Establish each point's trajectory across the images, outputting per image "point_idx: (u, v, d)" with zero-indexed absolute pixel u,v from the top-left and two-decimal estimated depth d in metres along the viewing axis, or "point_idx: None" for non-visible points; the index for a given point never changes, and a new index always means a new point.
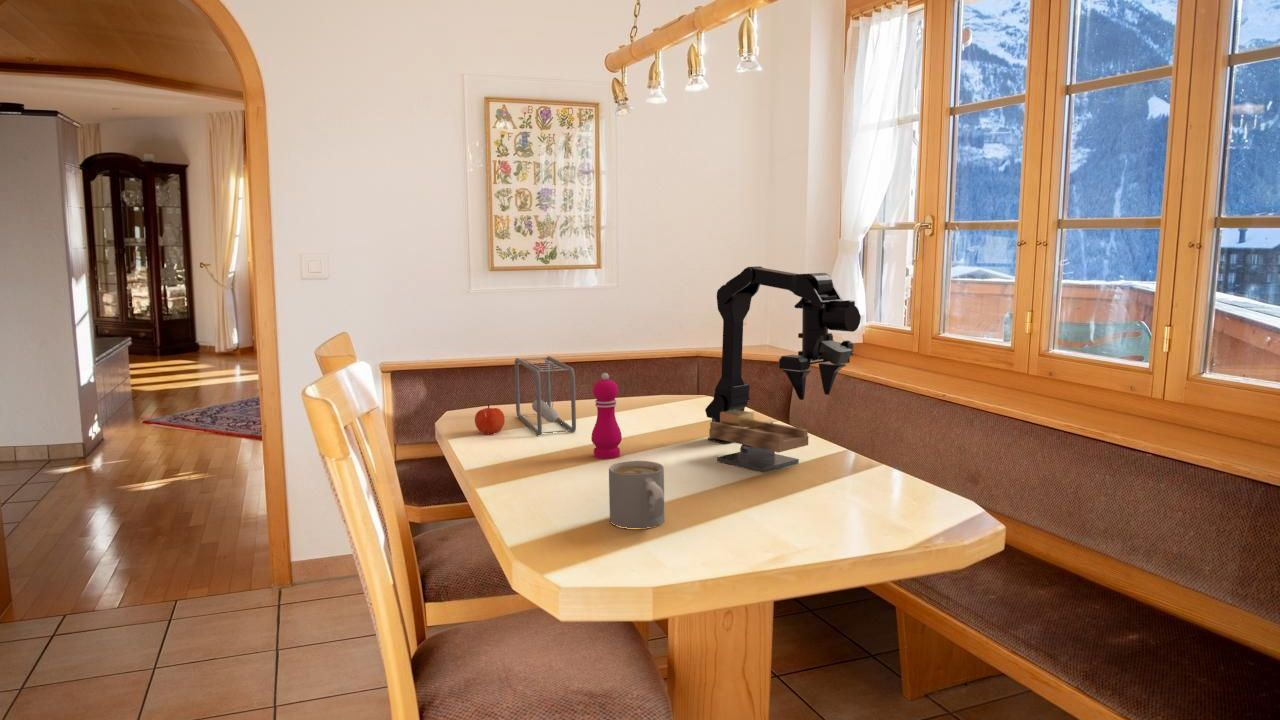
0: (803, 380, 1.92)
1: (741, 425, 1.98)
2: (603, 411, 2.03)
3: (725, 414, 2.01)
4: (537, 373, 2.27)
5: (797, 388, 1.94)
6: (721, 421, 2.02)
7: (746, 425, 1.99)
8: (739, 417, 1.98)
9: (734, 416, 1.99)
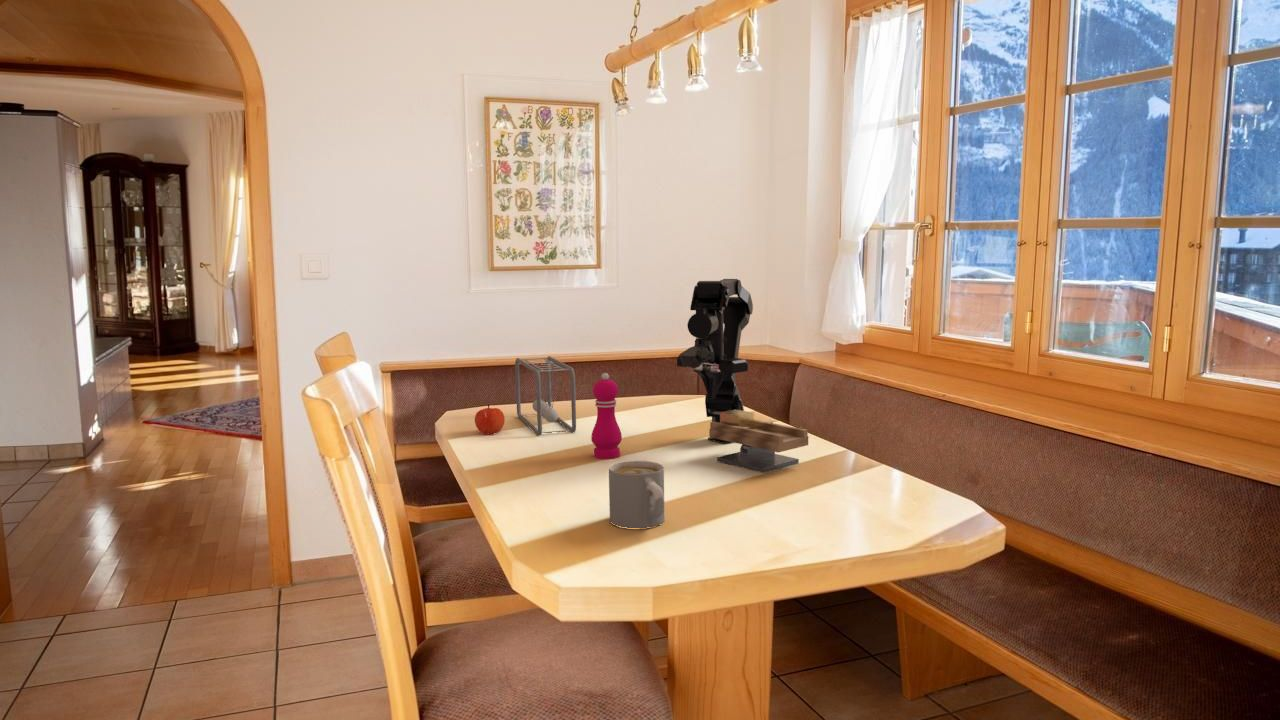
0: (703, 379, 2.07)
1: (741, 425, 1.98)
2: (603, 411, 2.03)
3: (725, 414, 2.01)
4: (537, 373, 2.27)
5: None
6: (721, 421, 2.02)
7: (746, 425, 1.99)
8: (739, 417, 1.98)
9: (734, 416, 1.99)
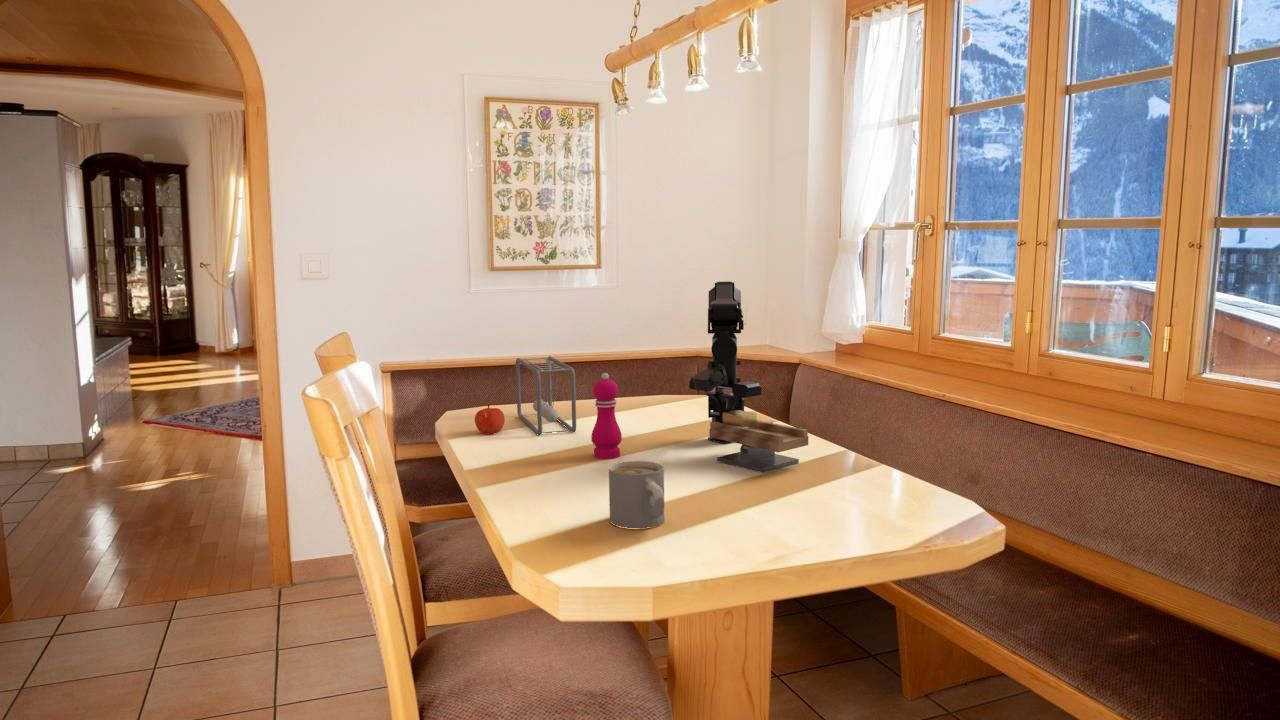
0: (716, 402, 2.04)
1: (744, 426, 1.98)
2: (603, 411, 2.03)
3: (728, 415, 2.00)
4: (537, 373, 2.27)
5: None
6: (724, 422, 2.01)
7: (749, 425, 1.99)
8: (742, 418, 1.97)
9: (737, 417, 1.98)
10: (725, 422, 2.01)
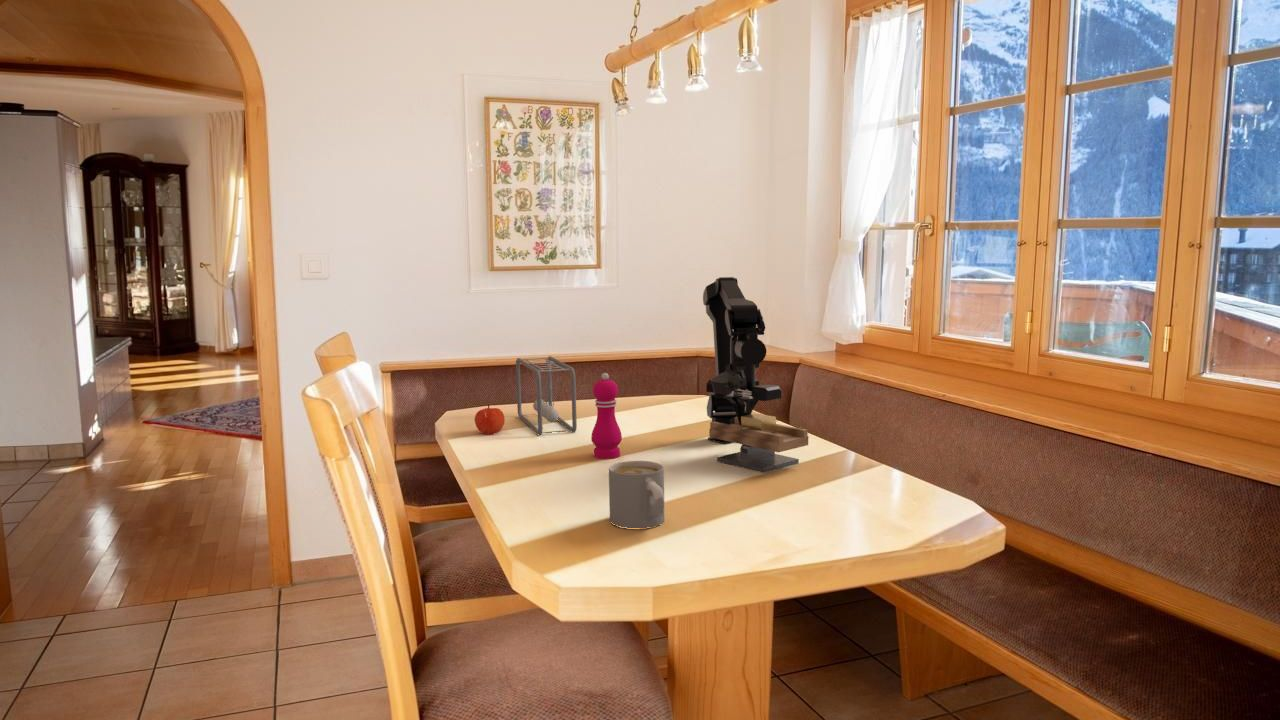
0: (734, 406, 2.00)
1: (763, 429, 1.93)
2: (603, 411, 2.03)
3: (747, 418, 1.96)
4: (538, 373, 2.27)
5: None
6: (742, 425, 1.97)
7: (768, 429, 1.94)
8: (761, 421, 1.93)
9: (756, 420, 1.94)
10: (744, 426, 1.97)
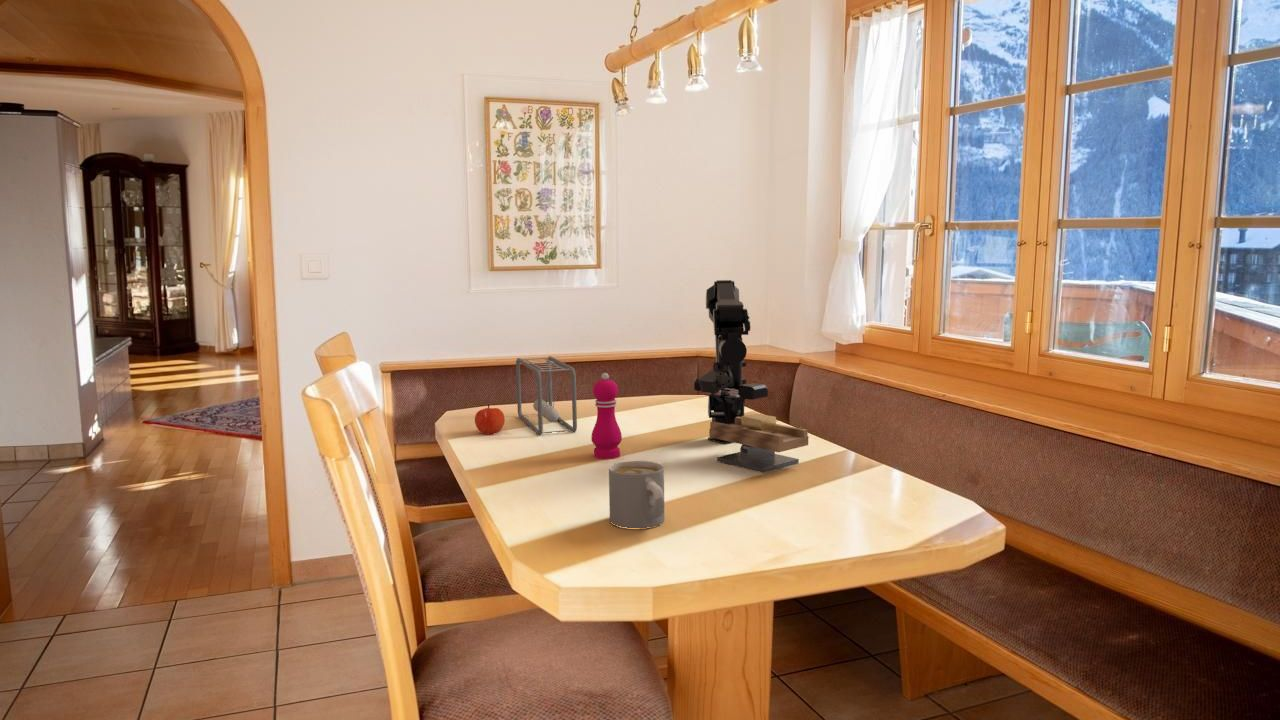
0: (722, 404, 2.03)
1: (763, 429, 1.93)
2: (603, 411, 2.03)
3: (747, 418, 1.96)
4: (538, 373, 2.27)
5: None
6: (742, 425, 1.97)
7: (768, 429, 1.94)
8: (761, 421, 1.93)
9: (756, 420, 1.94)
10: (744, 426, 1.97)
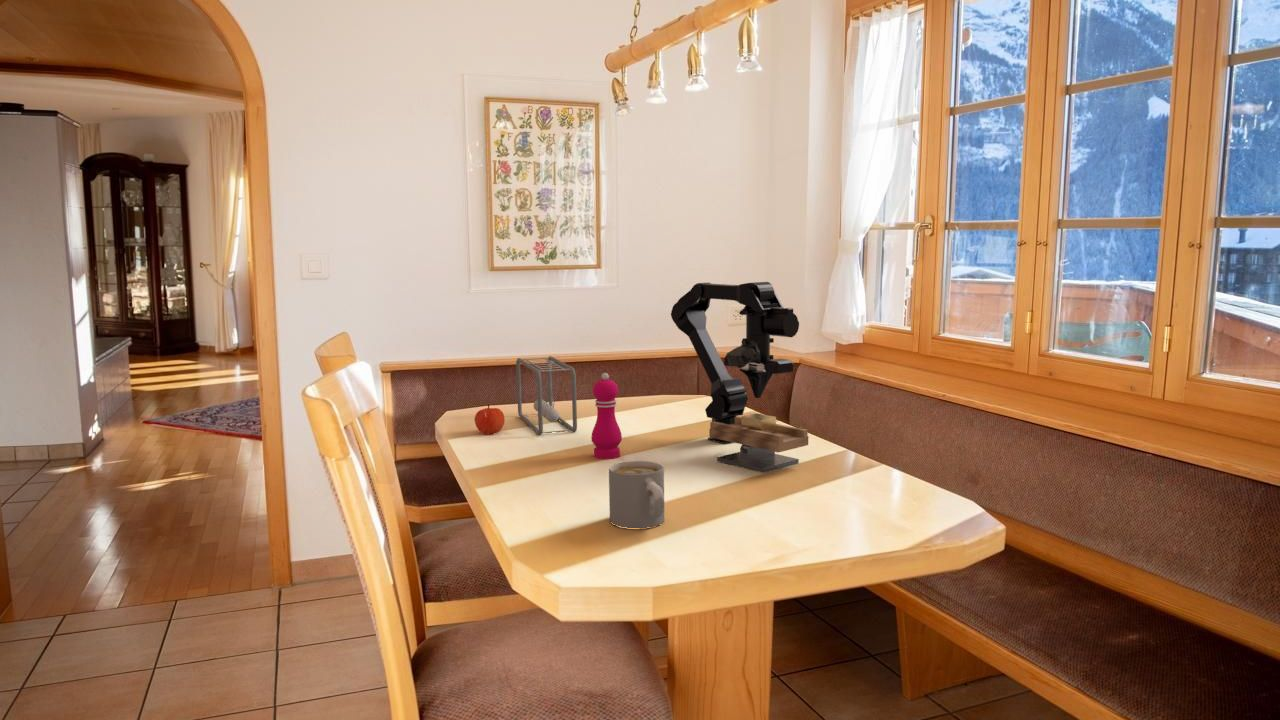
0: (750, 379, 2.11)
1: (763, 429, 1.93)
2: (603, 411, 2.03)
3: (747, 418, 1.96)
4: (538, 373, 2.27)
5: None
6: (742, 425, 1.97)
7: (768, 429, 1.94)
8: (761, 421, 1.93)
9: (756, 420, 1.94)
10: (744, 426, 1.97)
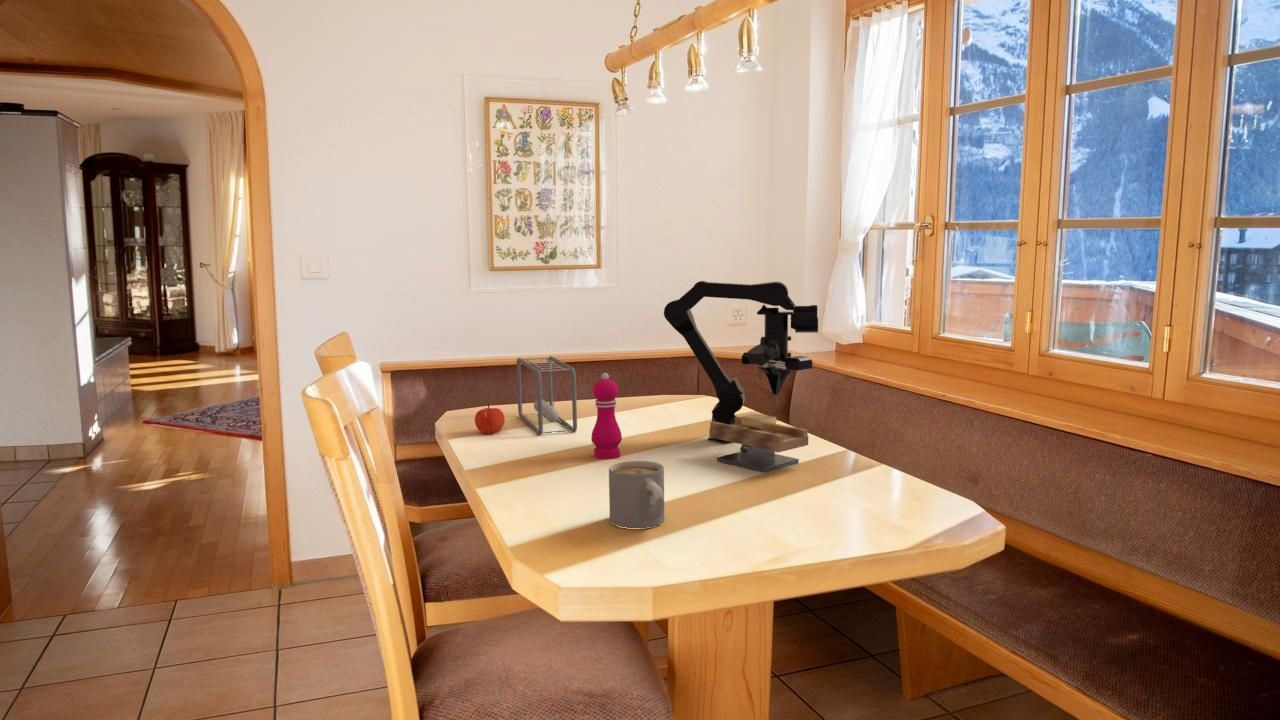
0: (768, 376, 2.16)
1: (763, 429, 1.93)
2: (603, 411, 2.03)
3: (747, 418, 1.96)
4: (538, 373, 2.27)
5: None
6: (742, 425, 1.97)
7: (768, 429, 1.94)
8: (761, 421, 1.93)
9: (756, 420, 1.94)
10: (744, 426, 1.97)
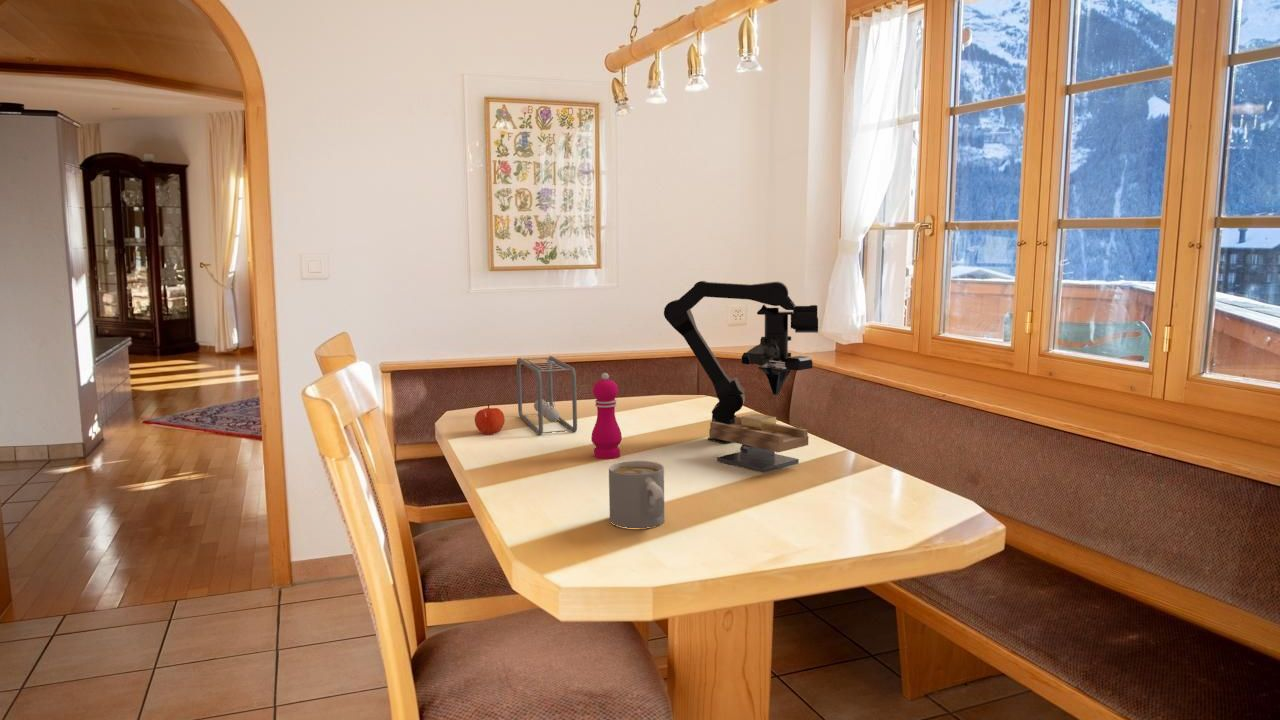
0: (768, 376, 2.16)
1: (763, 429, 1.93)
2: (603, 411, 2.03)
3: (747, 418, 1.96)
4: (538, 373, 2.27)
5: None
6: (742, 425, 1.97)
7: (768, 429, 1.94)
8: (761, 421, 1.93)
9: (756, 420, 1.94)
10: (744, 426, 1.97)
